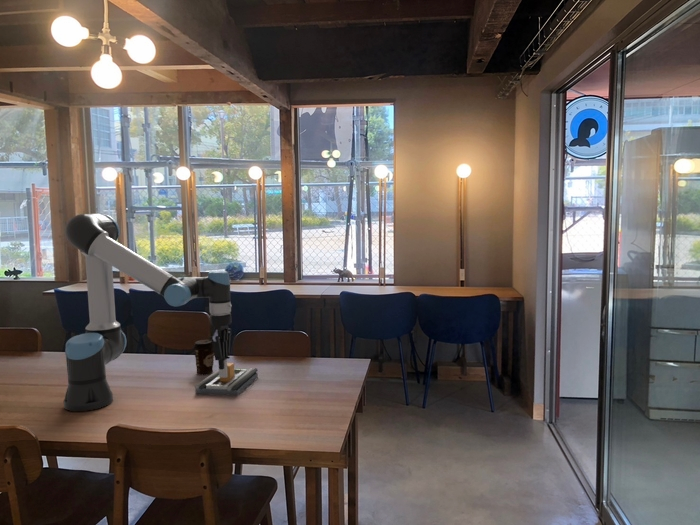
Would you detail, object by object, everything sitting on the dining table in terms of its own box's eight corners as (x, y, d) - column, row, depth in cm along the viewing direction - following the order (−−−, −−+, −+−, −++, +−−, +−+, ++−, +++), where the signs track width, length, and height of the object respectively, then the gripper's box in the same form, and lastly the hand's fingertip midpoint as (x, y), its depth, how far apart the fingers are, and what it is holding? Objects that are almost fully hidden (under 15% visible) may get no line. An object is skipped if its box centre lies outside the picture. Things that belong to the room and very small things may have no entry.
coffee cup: (219, 370, 218) (218, 339, 217) (212, 376, 210) (210, 344, 209) (198, 369, 219) (197, 338, 218) (190, 376, 211) (189, 344, 209)
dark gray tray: (235, 391, 187) (235, 387, 187) (194, 389, 190) (194, 385, 190) (257, 371, 209) (257, 368, 208) (220, 370, 211) (220, 366, 211)
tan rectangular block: (230, 381, 197) (229, 366, 196) (220, 381, 198) (219, 365, 197) (234, 378, 201) (234, 363, 200) (224, 377, 202) (224, 362, 201)
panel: (237, 395, 188) (237, 387, 188) (195, 393, 191) (195, 384, 191) (257, 377, 208) (257, 369, 207) (219, 375, 211) (218, 367, 210)
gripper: (222, 317, 186) (225, 383, 188) (237, 310, 198) (240, 371, 201) (202, 317, 187) (205, 382, 190) (218, 309, 200) (221, 370, 202)
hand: (223, 376), depth 195 cm, fingers closed
